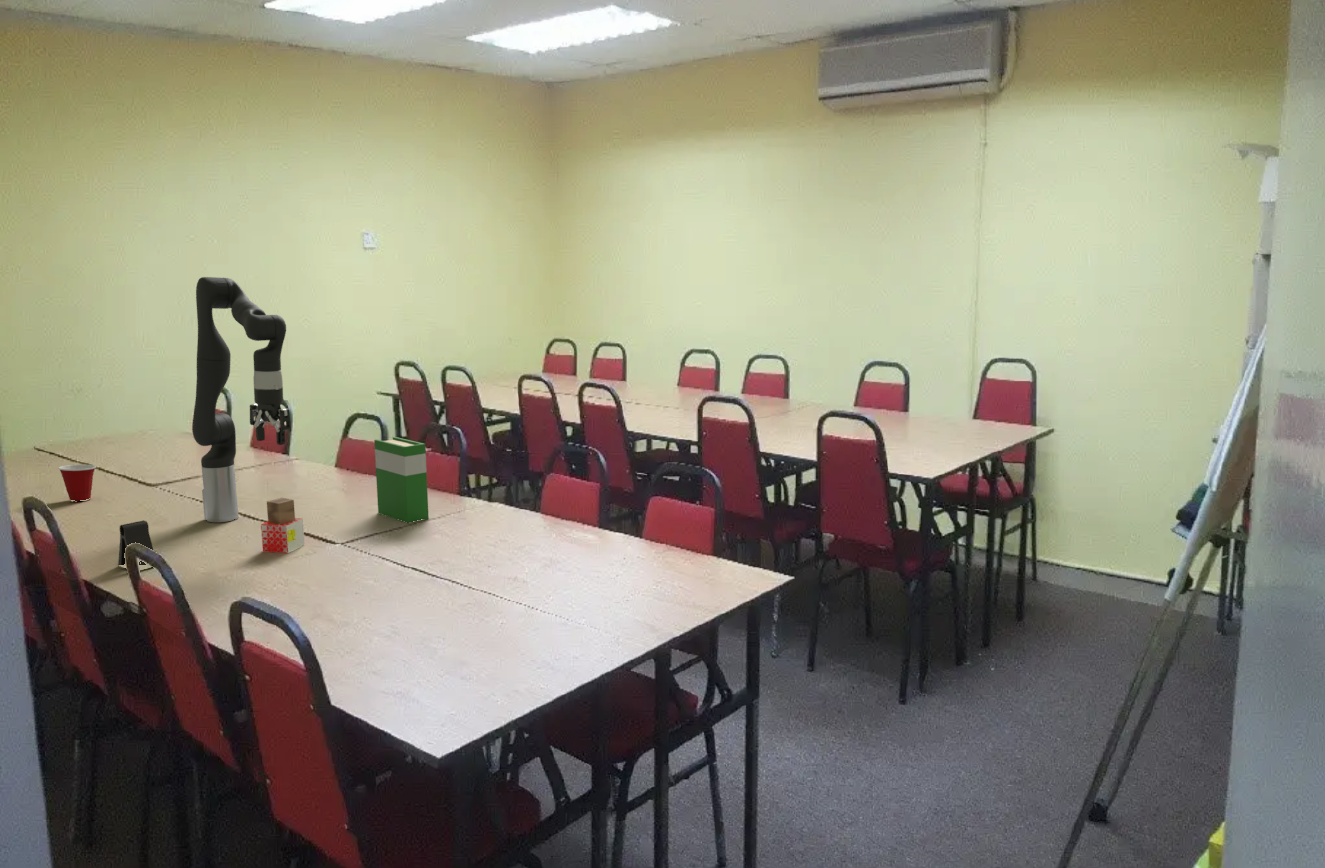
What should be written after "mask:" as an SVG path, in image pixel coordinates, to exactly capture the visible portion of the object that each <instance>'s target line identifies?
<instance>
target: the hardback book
mask: <svg viewBox="0 0 1325 868" xmlns="http://www.w3.org/2000/svg"><path fill="white" fill-rule="evenodd" d="M426 452H427V451H426V443H423V442H419V441H414V440H411V439H405V438H401V437H397V436H392V439H388V440H380V439H374V457H375V474H376V475H375V478H376V479H375V480H376V494H377V495H376V496H377V511H378V512H377V513H378V514H379V513H380V514H379V515H382V514H383V516H385V515H386V517H389V518H391V519H394V520H397V519H399V520H398V521H400V520H402V521H401V522H403V521H405V522H407V523H406V524H410V523H409V522H412V523H414V522H413V521H416V522H418V521H417V520H421V519H425V520H429V518H430V517H429V498H428V477H427V473H428V471H427V453H426ZM421 521H422V520H421ZM405 522H404V523H405Z"/></svg>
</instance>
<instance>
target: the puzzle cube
mask: <svg viewBox="0 0 1325 868" xmlns="http://www.w3.org/2000/svg"><path fill="white" fill-rule="evenodd" d="M260 530H261V533H260V534H261V544H262V552H265V551H269V552H268V553H280V552H283V554H289V553H291V552H293V551H295V550H297V549H299V548H301V547H303V546H305V545H304V544H305V533H304V519H303V517H302V518H300V517H295V521H292V522H288V523H285V524H281V525H279V524H274V523H270V522H268V520H267V521H266V522H262V523H261V524H260ZM302 545H303V546H302Z"/></svg>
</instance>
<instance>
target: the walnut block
mask: <svg viewBox="0 0 1325 868" xmlns="http://www.w3.org/2000/svg"><path fill="white" fill-rule="evenodd" d="M266 509H267V512H266V513H267V521H268V522H270V523H274V524H279V525H281V524H285V523H288V522H292V521H295V518H296V511H295V500H294V499H291V498H285V497H280V498H276V499H271V500H267V501H266Z"/></svg>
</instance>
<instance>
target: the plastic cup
mask: <svg viewBox="0 0 1325 868" xmlns="http://www.w3.org/2000/svg"><path fill="white" fill-rule="evenodd" d="M96 468H97V466H96V465H93V464H69V465H61V466H59V467H58V469H59V471H60V474H61V477H62V480H63V483H64V487H65V490H66V493H67V494H68V499H69V500H75V501H80V500H86V499H89V498H90V499H91V497H92V489H93V488H92V487H93V482H94V481H93V477H94V472H95V469H96Z"/></svg>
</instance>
